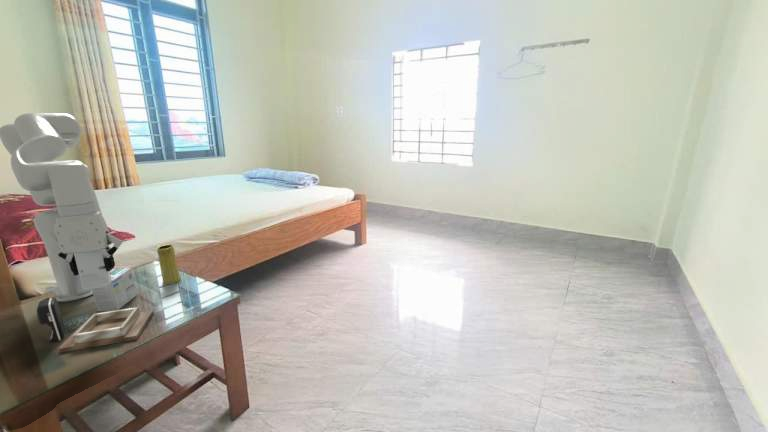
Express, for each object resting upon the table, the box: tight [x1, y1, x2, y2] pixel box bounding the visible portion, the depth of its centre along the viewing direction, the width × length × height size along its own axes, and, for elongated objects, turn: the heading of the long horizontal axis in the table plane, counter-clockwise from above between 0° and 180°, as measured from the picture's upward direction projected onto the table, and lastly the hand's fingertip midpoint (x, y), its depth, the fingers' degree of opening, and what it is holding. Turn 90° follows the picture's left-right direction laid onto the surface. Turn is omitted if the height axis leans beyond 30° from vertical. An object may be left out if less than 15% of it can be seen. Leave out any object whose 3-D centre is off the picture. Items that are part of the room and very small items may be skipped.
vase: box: [156, 244, 182, 285], centre depth 128 cm, size 6×6×14 cm
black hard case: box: [36, 297, 66, 343], centre depth 95 cm, size 7×4×11 cm, turn 40°
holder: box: [57, 306, 154, 353], centre depth 98 cm, size 18×14×4 cm
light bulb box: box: [92, 267, 138, 312], centre depth 113 cm, size 11×7×11 cm, turn 6°
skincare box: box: [74, 251, 111, 290], centre depth 93 cm, size 6×4×12 cm
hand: (94, 271), depth 93 cm, fingers closed on skincare box, 6 cm apart
